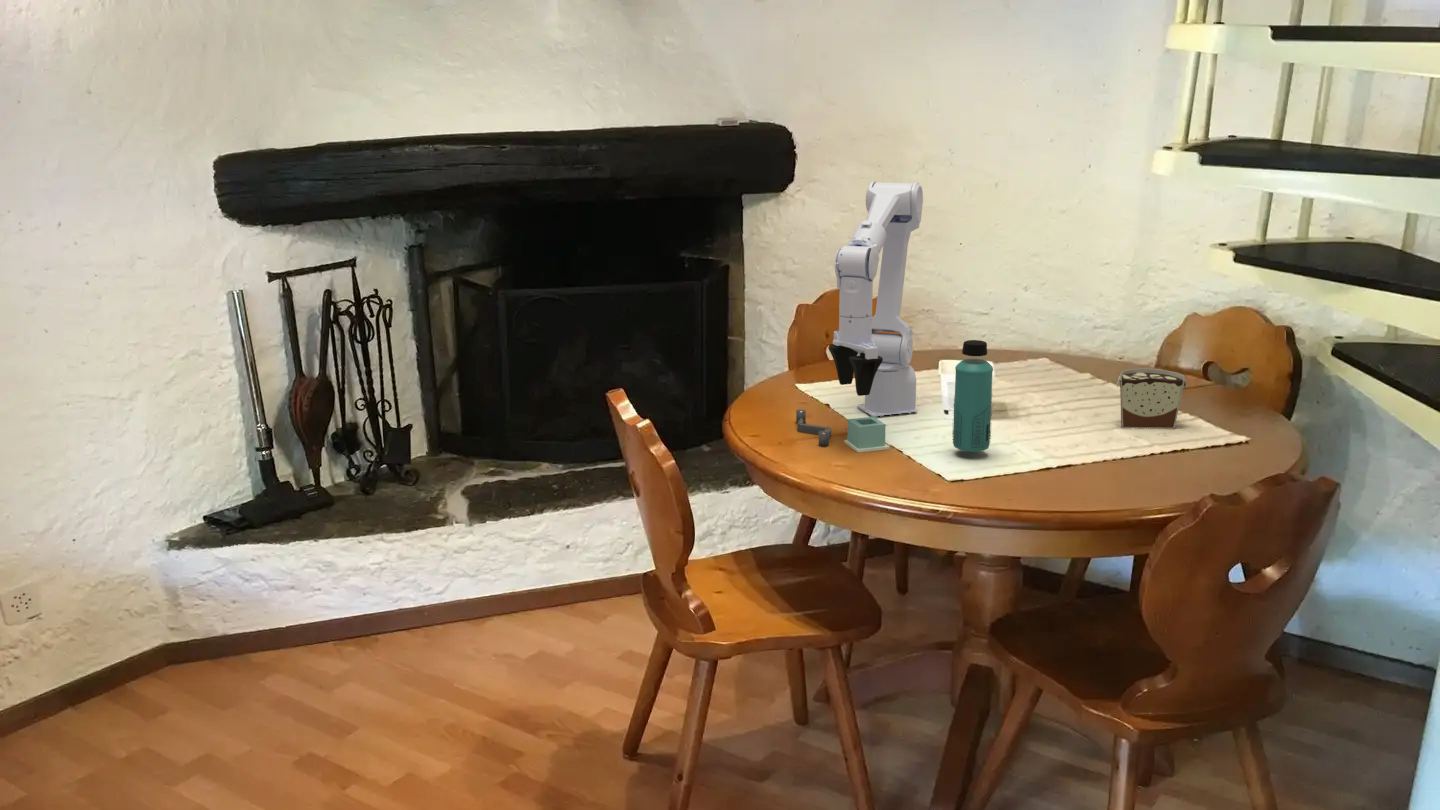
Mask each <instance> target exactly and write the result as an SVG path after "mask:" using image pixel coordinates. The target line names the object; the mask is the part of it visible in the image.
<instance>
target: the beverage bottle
mask: <svg viewBox="0 0 1440 810" xmlns="http://www.w3.org/2000/svg"><path fill="white" fill-rule="evenodd" d="M962 343H963V345H962V349H961V351H962V352H961V353H962V355H965V356H969V357H982V356H984V357H985V356H986V355H988V343H987V342H986V341H984V340H980V339H968V340H964V341H963V342H962ZM954 370H955V377H954V378H955V379H954V396H953V401H954V402H953V404H952V405H953V411H952V412H953V413H952V414H953V424H952V431H951V432H952V434H951V436H952V438H951V439H952V440H951V441H952V445H953V447H954V448H955V449H957V450H960V451H964V452H983V451H986V450H988V449H989V447H990V445H991V439H992V435H991V426H992V422H991V421H992V419H993V418H992V412H993V406H992V403H993V399H992V398H993V395H994V394H993V371H994V367H993V366H992V364H991V363H989V362H988V361H987V360H986V359H984V358H983V359H982V358H964V359H962V360H961V361H959V363H957V364H956V365H955V369H954Z"/></svg>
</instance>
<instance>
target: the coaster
mask: <svg viewBox="0 0 1440 810" xmlns="http://www.w3.org/2000/svg"><path fill="white" fill-rule="evenodd" d="M847 440H848V439H845V440H844V439H843V441H844V444H846V445H847V446H848V447H849V448H851V449H852V450H854V451H855V452H857V453H858V454H861V453H869V452H876V451H884V450H890V445H888V444H887V443H885V446H881V447H872V448H863V449H858V448H857V447H855V446H854V445H853V444H851V443H850V442H849V441H847Z"/></svg>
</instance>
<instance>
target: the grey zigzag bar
mask: <svg viewBox="0 0 1440 810" xmlns="http://www.w3.org/2000/svg"><path fill="white" fill-rule="evenodd" d="M806 413H807V410H806V409H803V408H802V409H801V408H799V409H796V410H795V423H796V424H797V432H799V433H802V434H803V433H805V434H811V435H818V446H819V447H822V448H823V447H824V448H825V447H828V446H829V443H830V440H831V437H832V428H831V427H830V426H826V425H825V426H823V425H816V424H809V423H807V422H806V417H807V416H806V415H807V414H806Z"/></svg>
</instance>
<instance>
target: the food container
mask: <svg viewBox="0 0 1440 810" xmlns="http://www.w3.org/2000/svg"><path fill="white" fill-rule="evenodd" d="M1116 387H1117V388H1118V387H1120V388H1119V391H1120V394H1119V395H1120V427H1121V429H1132V428H1135V429H1136V428H1137V429H1138V430H1139V429H1143V430H1144V429H1145V428H1146V430H1147V428H1148V430H1151V429H1152V430H1156V429H1157V428H1158V429H1157V430H1175V429H1176V422H1177V419H1178V414H1179V409H1180V405H1181V400H1182V395H1183V390H1184V388H1188V383H1187V378H1186V376H1185V375H1184V374H1181V373H1179V372H1175V371H1172V370H1171V371H1170V370H1165V369H1157V368H1131V369H1125V370H1123V371H1121V372H1120V375H1119V376H1118V378H1117V381H1116Z"/></svg>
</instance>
